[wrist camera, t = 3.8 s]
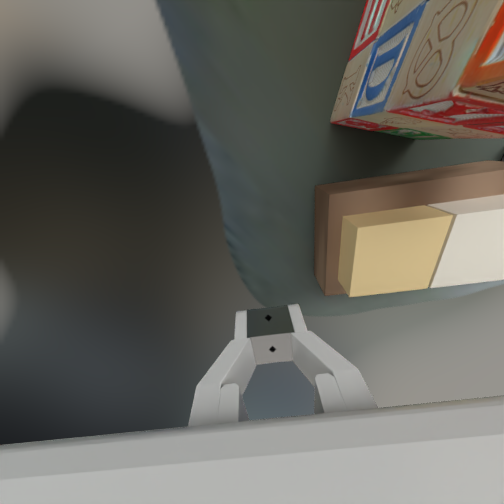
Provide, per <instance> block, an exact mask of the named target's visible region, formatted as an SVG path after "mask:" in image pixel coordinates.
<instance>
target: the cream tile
mask: <svg viewBox="0 0 504 504" xmlns="http://www.w3.org/2000/svg"><path fill="white" fill-rule="evenodd" d="M427 206H428V207H431V208H434V209H437V210H440V211H442V212H445V213H448V214H451V215H453V218H452V220H451V223H450V226H449V229H448V232H447V234H446V237H445V240H444V243H443V246H442V248H441V251H440V254H439V257H438V260H437V263H436V265H435V268H434V271H433V274H432V277H431V279H430V282H429V285H428V287H430V288H436V287H445V286H454V285H462V284H471V283H480V282H489V281H498V280H504V194H503V195H495V196H488V197H481V198H473V199H466V200H459V201H451V202H444V203H437V204H429V205H427Z"/></svg>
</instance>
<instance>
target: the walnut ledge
mask: <svg viewBox="0 0 504 504" xmlns="http://www.w3.org/2000/svg"><path fill="white" fill-rule="evenodd" d="M503 194H504V162H503V161H488V160H487V161H480V162H473V163H467V164H460V165H453V166H446V167H439V168H432V169H426V170H419V171H412V172H405V173H398V174H391V175H385V176H378V177H371V178H364V179H357V180H351V181H344V182H337V183H330V184H323V185H316V186H315V244H314V275H315V277H316V279H317V281H318V283H319V285H320V287H321V289H322V291H323V293H324V295H325V296H329V295H338V294H346V291H345V290H344V288H343V287H342V285H341V284H340V282H339V281H338V270H339V257H340V245H341V232H342V220H343V216H349V215H356V214H364V213H371V212H378V211H386V210H393V209H400V208H407V207H415V206H422V205H425V206H427V205H429V204H437V203H444V202H451V201H459V200H466V199H473V198H481V197H488V196H495V195H503Z"/></svg>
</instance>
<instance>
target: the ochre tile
mask: <svg viewBox="0 0 504 504" xmlns="http://www.w3.org/2000/svg"><path fill="white" fill-rule="evenodd" d="M452 218H453V215H451V214H448V213H445V212H442V211H440V210H437V209H434V208H431V207H428V206H425V205H422V206H415V207H407V208H400V209H393V210H386V211H378V212H371V213H364V214H356V215H349V216H343V220H342V232H341V245H340V257H339V270H338V281H339V282H340V284H341V285H342V287H343V288H344V290H345V291H346V293H347V294H348V296H349V297H356V296H365V295H374V294H383V293H392V292H401V291H409V290H418V289H427V288H428V285H429V282H430V279H431V277H432V274H433V271H434V268H435V265H436V263H437V260H438V257H439V254H440V251H441V248H442V246H443V243H444V240H445V237H446V234H447V232H448V229H449V226H450V223H451V220H452Z"/></svg>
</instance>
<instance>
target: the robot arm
mask: <svg viewBox="0 0 504 504" xmlns="http://www.w3.org/2000/svg"><path fill="white" fill-rule="evenodd" d="M285 361H293V362H294V363H295V364H296V365H297V367H298V368H299V369H300V370H301V372H302V373H303V374H304V375H305V376H306V378H307V379H308V380H309V381H310V382H311V383H312V385H313V386H314V387H315V401H314V413H315V414H312V415H301V416H291V417H281V418H272V419H260V420H252V421H251V420H250V421H249V418H248V414H247V411H246V408H245V404H244V401H243V398H242V395H243V393H244V391H245V389H246V387H247V385H248V383H249V380H250V378H251V376H252V374H253V372H254V370H255V368H256V365H259V364H266V363H272V362H285ZM0 504H504V396H494V397H484V398H474V399H464V400H455V401H443V402H433V403H423V404H413V405H404V406H393V407H383V408H378V407H377V405H376V403H375V401H374V399H373V397H372V395H371V393H370V391H369V389H368V387H367V385H366V383H365V381H364V379H363V377H362V375H361V373H360V371H359V369H358V368H356V367H355V366H354V365H353V364H352V363H350V362H349V361H348V360H347V359H345V358H344V357H343V356H342V355H340V354H339V353H338V352H337V351H335V350H334V349H333V348H332V347H330V346H329V345H328V344H327V343H325V342H324V341H323V340H322V339H320V338H319V337H318V336H317V335H316V334H314V333H313V332H312V331H307V328H306V325H305V322H304V319H303V316H302V313H301V310H300V307H299V305H298V304H291V305H284V306H277V307H269V308H262V309H251V310H245V311H237V312H236V319H235V336H234V340H231V341H230V342H229V344H228V345H227V346H226V348H225V349H224V350H223V352H222V353H221V354H220V356H219V357H218V358H217V360H216V361H215V362H214V364H213V365H212V366H211V368H210V369H209V370H208V372H207V373H206V374H205V376H204V377H203V378H202V380H201V381H200V382H199V384H198V385H197V387H196V391H195V396H194V401H193V405H192V410H191V415H190V420H189V424H188V427H180V428H170V429H159V430H150V431H139V432H130V433H120V434H109V435H99V436H89V437H79V438H69V439H59V440H49V441H38V442H29V443H18V444H9V445H0Z"/></svg>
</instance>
